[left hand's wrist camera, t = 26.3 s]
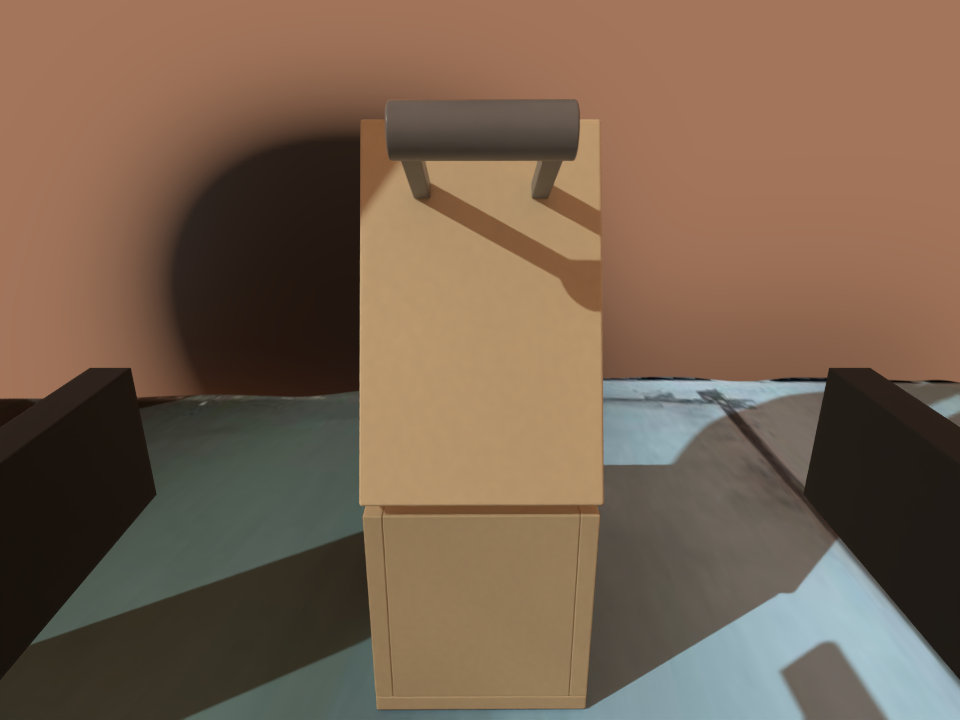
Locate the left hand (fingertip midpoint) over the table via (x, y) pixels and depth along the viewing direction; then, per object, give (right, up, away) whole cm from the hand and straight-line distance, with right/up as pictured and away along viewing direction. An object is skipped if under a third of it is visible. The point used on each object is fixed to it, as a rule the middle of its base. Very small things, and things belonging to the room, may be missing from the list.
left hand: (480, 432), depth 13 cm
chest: (0, -12, +25) cm, 28 cm away
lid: (0, +3, +15) cm, 15 cm away
